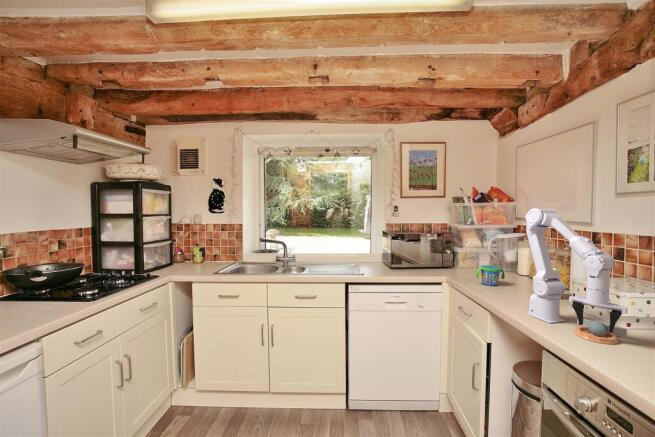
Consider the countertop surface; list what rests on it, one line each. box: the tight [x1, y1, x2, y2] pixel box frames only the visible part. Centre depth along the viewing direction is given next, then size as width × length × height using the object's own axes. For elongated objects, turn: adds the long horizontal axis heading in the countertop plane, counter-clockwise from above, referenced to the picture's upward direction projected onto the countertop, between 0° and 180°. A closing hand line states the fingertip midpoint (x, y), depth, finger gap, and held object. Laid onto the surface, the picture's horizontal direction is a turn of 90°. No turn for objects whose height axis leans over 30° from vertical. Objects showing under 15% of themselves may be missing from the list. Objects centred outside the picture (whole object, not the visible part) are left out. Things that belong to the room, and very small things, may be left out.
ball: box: [588, 320, 608, 336], centre depth 99 cm, size 5×5×5 cm
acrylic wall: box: [576, 317, 628, 339], centre depth 105 cm, size 13×1×3 cm, turn 37°
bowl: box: [573, 326, 619, 345], centre depth 100 cm, size 11×11×2 cm
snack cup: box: [475, 264, 506, 287], centre depth 167 cm, size 16×10×10 cm
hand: (595, 328), depth 100 cm, fingers open, 7 cm apart
